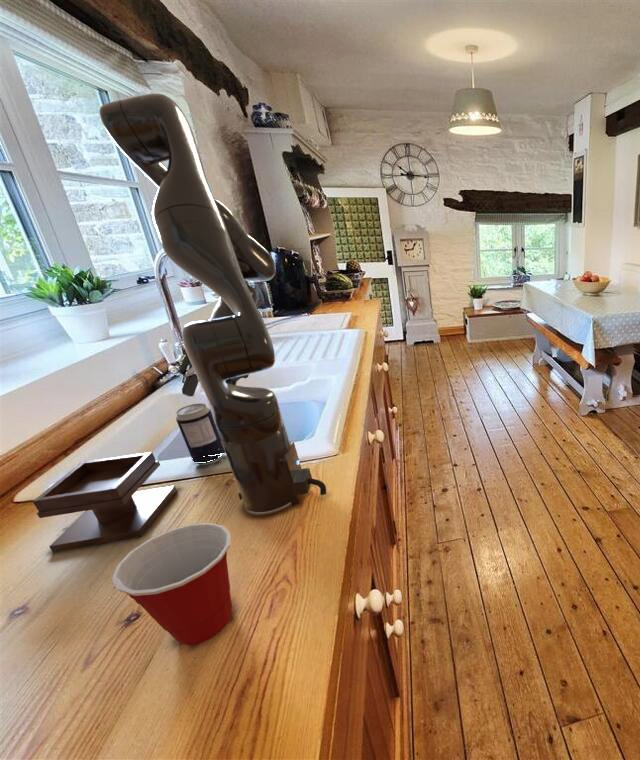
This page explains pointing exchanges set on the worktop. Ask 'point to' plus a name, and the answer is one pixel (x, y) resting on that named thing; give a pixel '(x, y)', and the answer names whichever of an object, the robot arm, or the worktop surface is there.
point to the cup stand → (105, 500)
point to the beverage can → (200, 433)
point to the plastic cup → (181, 580)
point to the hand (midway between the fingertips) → (206, 395)
